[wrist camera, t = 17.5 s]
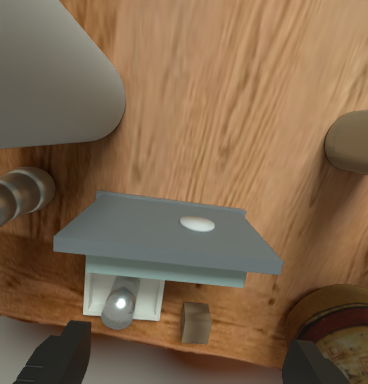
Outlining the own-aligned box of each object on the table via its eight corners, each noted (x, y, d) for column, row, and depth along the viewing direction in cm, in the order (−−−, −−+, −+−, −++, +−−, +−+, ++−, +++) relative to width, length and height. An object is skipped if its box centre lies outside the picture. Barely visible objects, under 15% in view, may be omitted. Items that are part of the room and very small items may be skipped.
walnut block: (207, 303, 42) (211, 323, 38) (203, 323, 43) (207, 344, 39) (184, 301, 42) (185, 320, 37) (180, 321, 43) (181, 342, 39)
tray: (168, 252, 39) (168, 260, 37) (159, 310, 42) (159, 320, 39) (91, 244, 38) (86, 251, 35) (88, 303, 41) (83, 314, 38)
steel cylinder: (141, 271, 39) (134, 305, 31) (139, 292, 40) (131, 330, 32) (116, 268, 39) (102, 302, 31) (114, 290, 40) (100, 328, 32)
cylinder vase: (139, 73, 32) (38, -119, 8) (109, 154, 34) (-37, 202, 10) (51, 30, 30) (-442, -397, 6) (27, 120, 33) (-388, 77, 8)
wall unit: (243, 208, 38) (294, 259, 22) (235, 246, 39) (276, 318, 24) (98, 189, 36) (42, 231, 20) (95, 230, 37) (42, 298, 22)
